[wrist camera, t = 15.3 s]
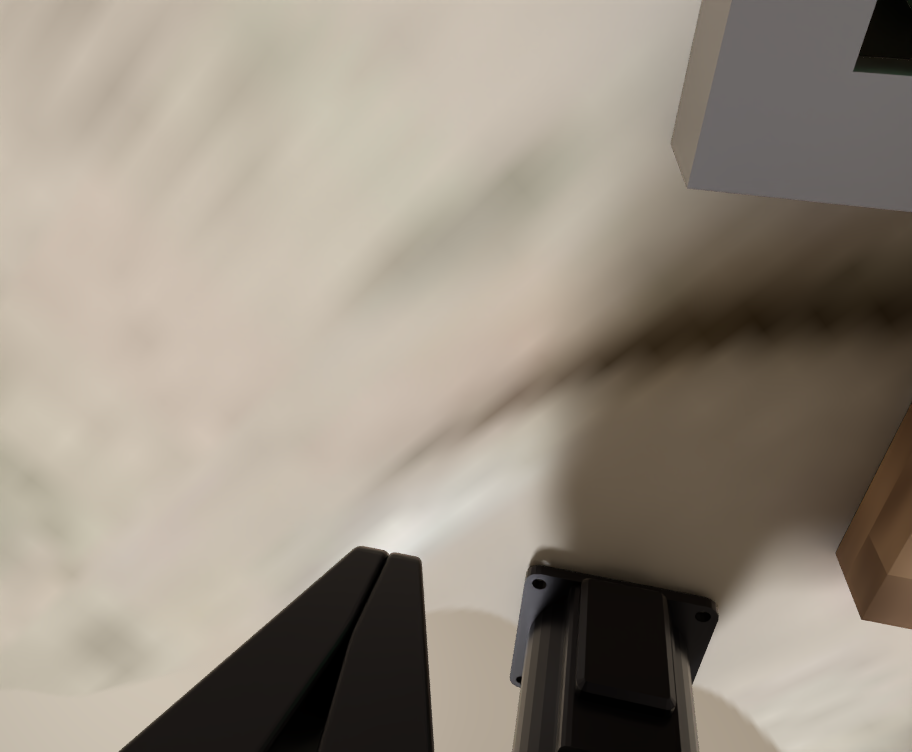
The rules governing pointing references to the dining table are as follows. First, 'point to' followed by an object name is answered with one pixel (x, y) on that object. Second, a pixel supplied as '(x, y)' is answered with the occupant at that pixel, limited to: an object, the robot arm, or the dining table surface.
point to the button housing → (795, 106)
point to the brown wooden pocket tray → (883, 539)
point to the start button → (911, 1)
